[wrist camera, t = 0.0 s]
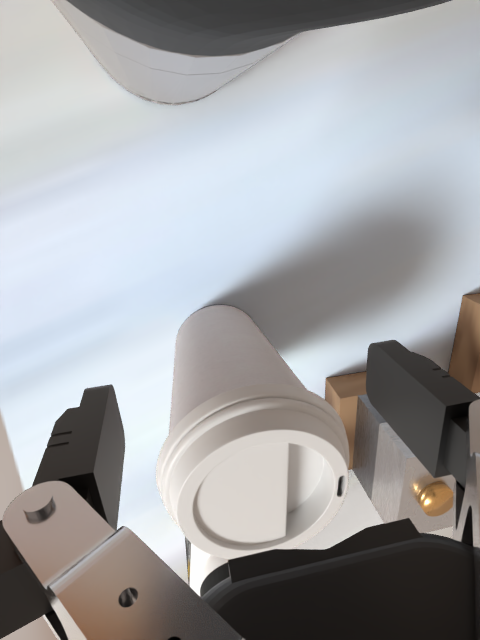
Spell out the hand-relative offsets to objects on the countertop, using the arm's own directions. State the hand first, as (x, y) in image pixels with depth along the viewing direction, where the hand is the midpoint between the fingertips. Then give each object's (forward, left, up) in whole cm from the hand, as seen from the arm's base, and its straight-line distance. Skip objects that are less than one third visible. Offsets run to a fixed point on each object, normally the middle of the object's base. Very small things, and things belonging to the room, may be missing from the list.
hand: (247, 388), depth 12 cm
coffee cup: (+8, +1, -17) cm, 19 cm away
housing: (+17, +14, -14) cm, 26 cm away
